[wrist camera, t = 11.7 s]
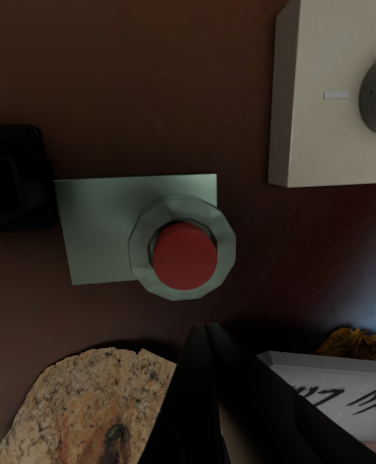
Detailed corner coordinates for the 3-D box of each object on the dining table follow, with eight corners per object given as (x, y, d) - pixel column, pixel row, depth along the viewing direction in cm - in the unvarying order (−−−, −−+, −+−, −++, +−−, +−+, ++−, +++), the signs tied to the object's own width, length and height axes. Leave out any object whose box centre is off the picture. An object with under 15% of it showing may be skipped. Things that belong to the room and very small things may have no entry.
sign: (553, 388, 21) (462, 443, 26) (538, 376, 22) (452, 432, 26) (227, 360, 16) (188, 436, 20) (224, 346, 16) (187, 422, 21)
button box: (80, 284, 19) (63, 311, 16) (62, 178, 17) (38, 182, 13) (222, 272, 20) (235, 295, 16) (222, 171, 18) (237, 173, 14)
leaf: (391, 340, 24) (409, 351, 22) (349, 397, 24) (362, 412, 23) (341, 309, 23) (355, 318, 21) (298, 370, 23) (308, 383, 22)
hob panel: (267, 183, 18) (288, 188, 15) (275, 16, 15) (303, -19, 12) (419, 175, 19) (468, 179, 16) (453, 18, 16) (519, -14, 13)
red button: (155, 279, 16) (155, 293, 14) (151, 224, 15) (150, 232, 13) (211, 274, 16) (217, 288, 15) (211, 220, 15) (217, 227, 14)
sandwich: (85, 301, 26) (44, 312, 18) (217, 358, 25) (230, 394, 18) (-2, 489, 23) (-93, 595, 16) (143, 559, 22) (122, 706, 15)
